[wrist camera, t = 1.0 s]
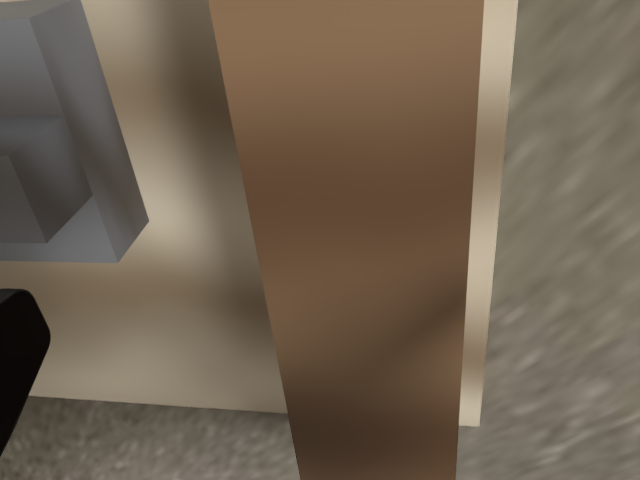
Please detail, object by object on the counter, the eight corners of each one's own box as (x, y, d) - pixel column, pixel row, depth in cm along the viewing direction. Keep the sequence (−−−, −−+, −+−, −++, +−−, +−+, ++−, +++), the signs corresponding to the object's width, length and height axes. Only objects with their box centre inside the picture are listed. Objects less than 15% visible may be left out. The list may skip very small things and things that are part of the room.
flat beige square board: (476, 397, 20) (488, 547, 16) (18, 370, 23) (-74, 487, 19) (570, -708, 8) (739, -1385, 3) (-427, -430, 11) (-962, -600, 7)
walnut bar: (448, 404, 19) (452, 523, 15) (327, 396, 19) (306, 509, 16) (495, -623, 7) (544, -985, 4) (202, -548, 8) (52, -804, 5)
